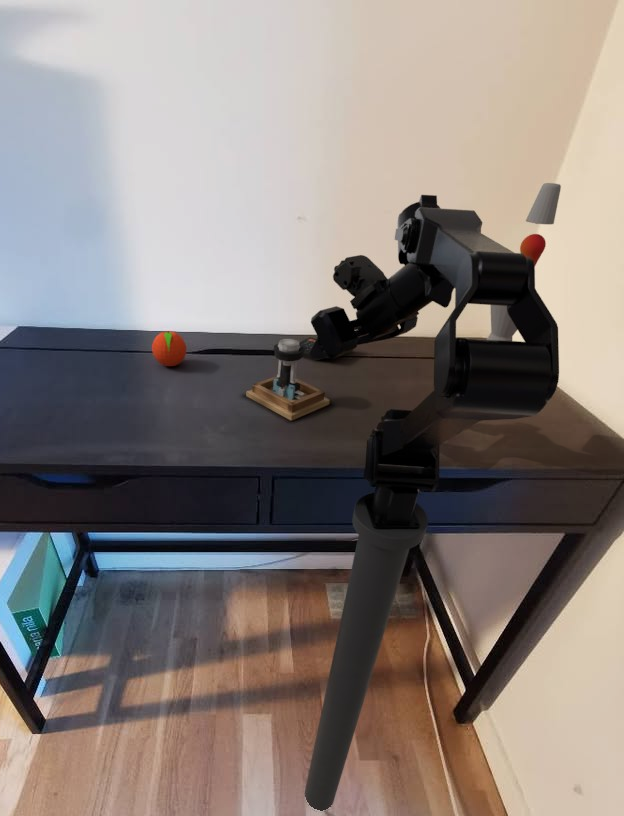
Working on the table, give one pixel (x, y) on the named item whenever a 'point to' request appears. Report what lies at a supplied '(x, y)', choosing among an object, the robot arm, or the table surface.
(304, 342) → the calculator
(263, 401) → the base pad
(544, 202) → the lava lamp
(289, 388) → the push button
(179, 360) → the clementine
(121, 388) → the table surface
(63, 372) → the table surface
